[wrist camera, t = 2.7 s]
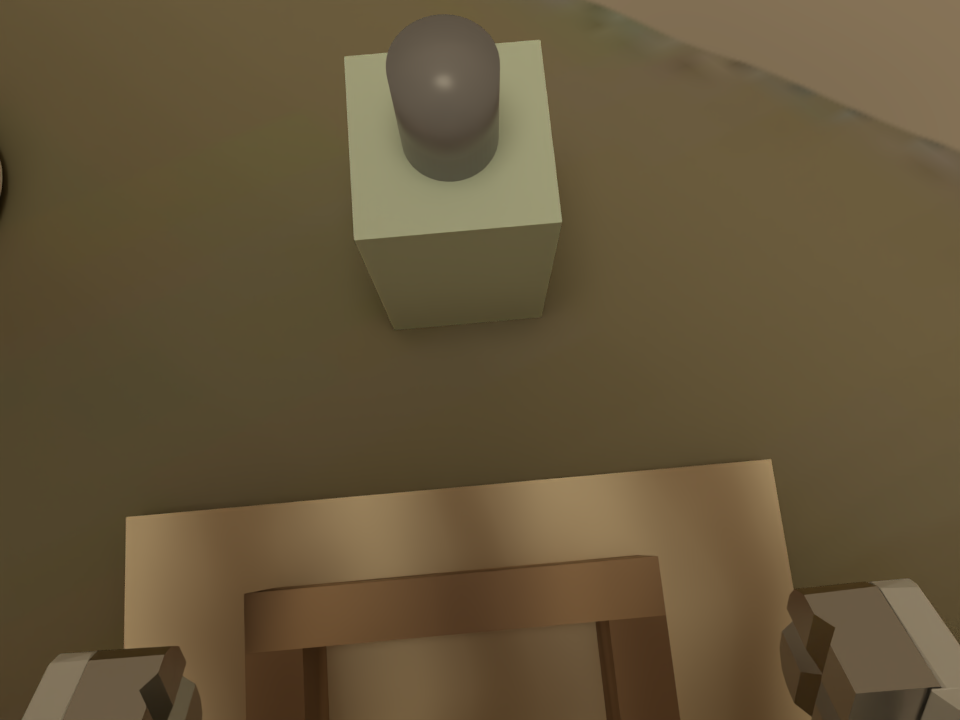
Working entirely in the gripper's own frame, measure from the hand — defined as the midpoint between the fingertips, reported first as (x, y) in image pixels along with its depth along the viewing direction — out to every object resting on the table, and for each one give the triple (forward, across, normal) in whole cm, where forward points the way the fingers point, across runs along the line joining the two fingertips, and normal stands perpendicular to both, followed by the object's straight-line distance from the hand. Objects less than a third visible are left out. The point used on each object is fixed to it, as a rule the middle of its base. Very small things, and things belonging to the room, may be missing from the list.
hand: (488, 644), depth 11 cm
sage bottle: (+18, 0, +2) cm, 18 cm away
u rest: (+7, +1, +14) cm, 15 cm away
